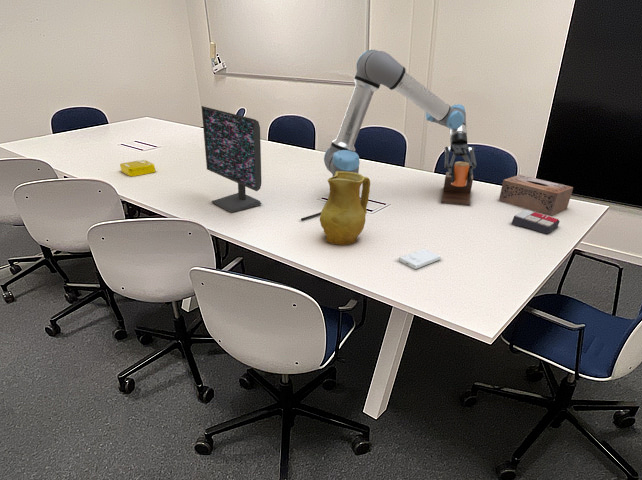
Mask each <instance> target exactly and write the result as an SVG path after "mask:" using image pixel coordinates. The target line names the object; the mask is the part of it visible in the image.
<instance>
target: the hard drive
mask: <svg viewBox="0 0 642 480" xmlns="http://www.w3.org/2000/svg"><path fill="white" fill-rule="evenodd" d="M441 257H442V256H441V255H439V254H437V253H435V252H432V251H430V250H428V249H427V248H422V249H419V250H415V251H413V252H411V253H408V254H405V255H403V256H400V257H398V261H399V263H402V264H404V265H406V266H407V267H409V268H412V269H414V270H417V269H420V268H422V267H425V266H427V265H430V264H433V263H435V262H437V261H441Z"/></svg>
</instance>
